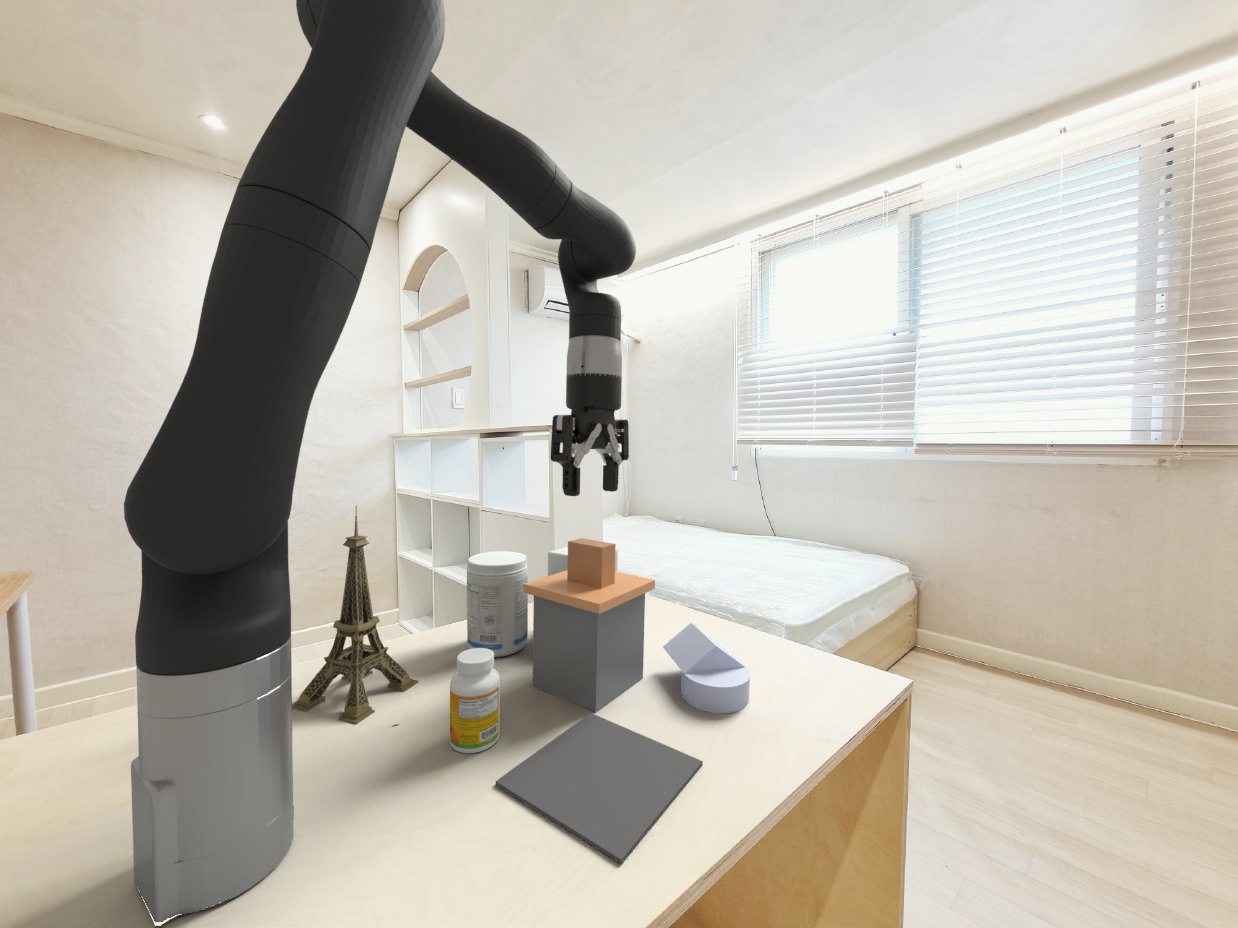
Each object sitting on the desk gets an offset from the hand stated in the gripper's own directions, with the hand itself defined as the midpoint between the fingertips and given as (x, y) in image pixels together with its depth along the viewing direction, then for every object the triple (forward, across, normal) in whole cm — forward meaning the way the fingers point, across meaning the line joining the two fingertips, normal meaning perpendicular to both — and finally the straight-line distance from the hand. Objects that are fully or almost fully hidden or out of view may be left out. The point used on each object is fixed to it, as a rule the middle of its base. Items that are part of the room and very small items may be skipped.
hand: (591, 493), depth 67 cm
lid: (+15, 0, 0) cm, 15 cm away
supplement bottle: (+27, -18, +2) cm, 32 cm away
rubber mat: (+27, -14, -13) cm, 33 cm away
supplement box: (+27, +12, +11) cm, 31 cm away
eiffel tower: (+27, -21, +22) cm, 41 cm away
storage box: (+27, 0, 0) cm, 27 cm away
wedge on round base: (+27, +9, -14) cm, 32 cm away
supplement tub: (+27, 0, +19) cm, 33 cm away
